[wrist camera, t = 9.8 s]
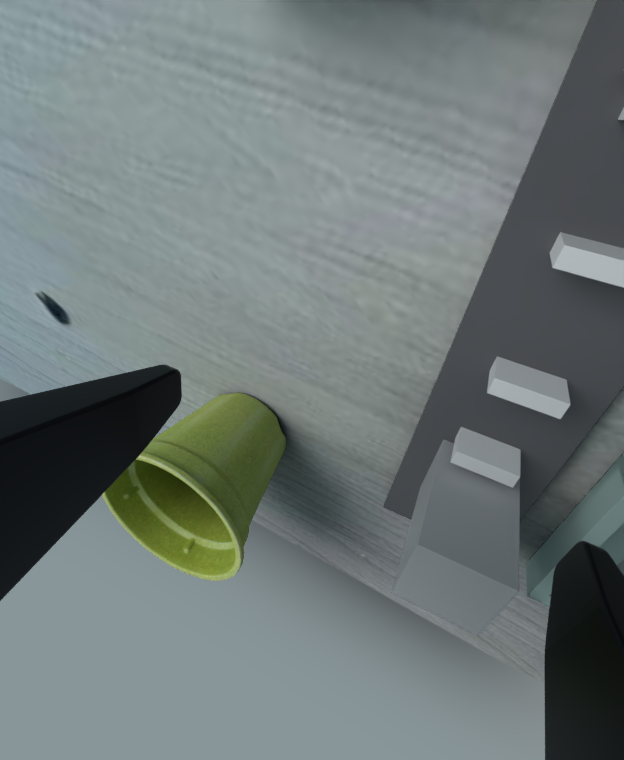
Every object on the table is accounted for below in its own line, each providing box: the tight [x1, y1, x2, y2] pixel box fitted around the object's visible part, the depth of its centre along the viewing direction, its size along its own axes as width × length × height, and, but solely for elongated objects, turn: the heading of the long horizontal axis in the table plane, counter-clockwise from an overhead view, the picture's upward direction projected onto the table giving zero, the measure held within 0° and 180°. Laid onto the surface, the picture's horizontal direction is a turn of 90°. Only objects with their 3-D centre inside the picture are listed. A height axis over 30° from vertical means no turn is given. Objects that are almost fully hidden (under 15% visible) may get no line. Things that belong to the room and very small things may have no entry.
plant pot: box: [102, 393, 286, 581], centre depth 26 cm, size 9×9×9 cm
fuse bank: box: [384, 0, 624, 636], centre depth 14 cm, size 7×30×8 cm, turn 169°
